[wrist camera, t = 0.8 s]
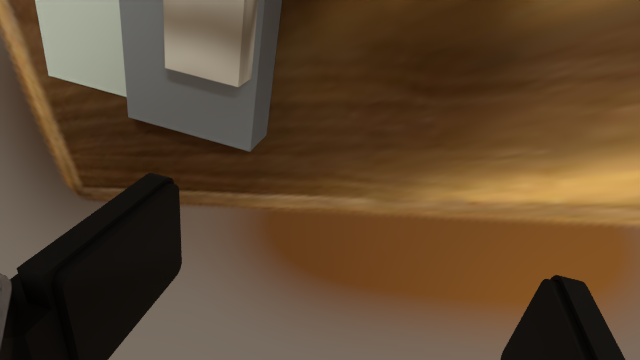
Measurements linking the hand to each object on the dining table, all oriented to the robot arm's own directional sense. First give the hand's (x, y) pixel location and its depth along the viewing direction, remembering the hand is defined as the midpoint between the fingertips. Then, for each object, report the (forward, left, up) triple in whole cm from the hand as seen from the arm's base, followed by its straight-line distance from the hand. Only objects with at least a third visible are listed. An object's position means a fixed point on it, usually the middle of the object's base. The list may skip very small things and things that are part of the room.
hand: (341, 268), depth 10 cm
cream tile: (-1, -14, -22) cm, 26 cm away
